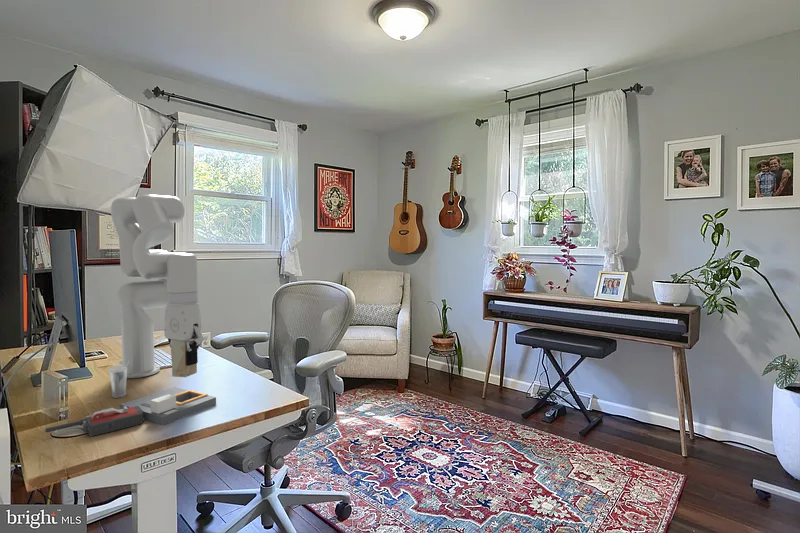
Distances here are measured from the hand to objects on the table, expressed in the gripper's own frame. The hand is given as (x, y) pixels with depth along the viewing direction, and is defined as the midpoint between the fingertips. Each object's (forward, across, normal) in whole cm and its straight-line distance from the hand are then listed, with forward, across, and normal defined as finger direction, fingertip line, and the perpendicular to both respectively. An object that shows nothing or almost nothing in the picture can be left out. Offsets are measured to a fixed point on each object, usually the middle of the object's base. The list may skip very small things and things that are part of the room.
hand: (184, 362), depth 124 cm
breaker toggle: (+10, +3, -9) cm, 13 cm away
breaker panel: (+12, -2, -4) cm, 13 cm away
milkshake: (+12, -23, -4) cm, 27 cm away
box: (+4, 0, 0) cm, 4 cm away
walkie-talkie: (+12, -5, -20) cm, 24 cm away
